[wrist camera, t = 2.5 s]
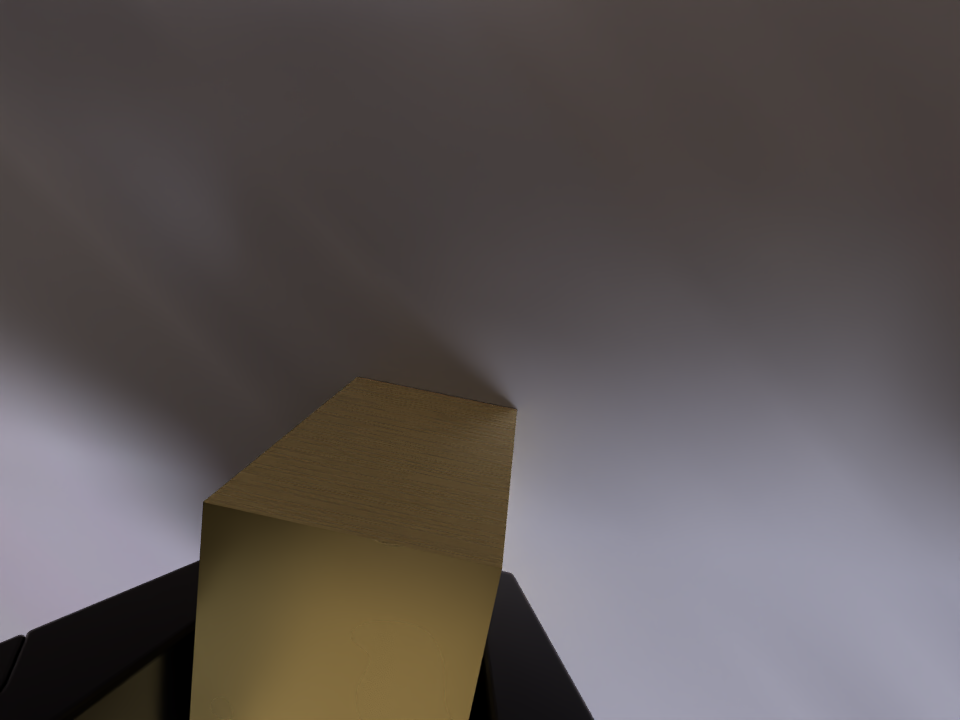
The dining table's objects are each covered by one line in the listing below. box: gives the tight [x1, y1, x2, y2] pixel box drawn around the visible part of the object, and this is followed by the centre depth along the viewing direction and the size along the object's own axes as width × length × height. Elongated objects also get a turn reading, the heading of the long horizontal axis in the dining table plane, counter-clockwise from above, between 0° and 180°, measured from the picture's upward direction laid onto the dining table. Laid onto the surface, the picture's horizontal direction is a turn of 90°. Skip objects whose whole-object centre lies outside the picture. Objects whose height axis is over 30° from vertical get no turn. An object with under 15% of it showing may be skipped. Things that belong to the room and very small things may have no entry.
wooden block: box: [190, 377, 517, 720], centre depth 7 cm, size 2×5×4 cm, turn 170°
